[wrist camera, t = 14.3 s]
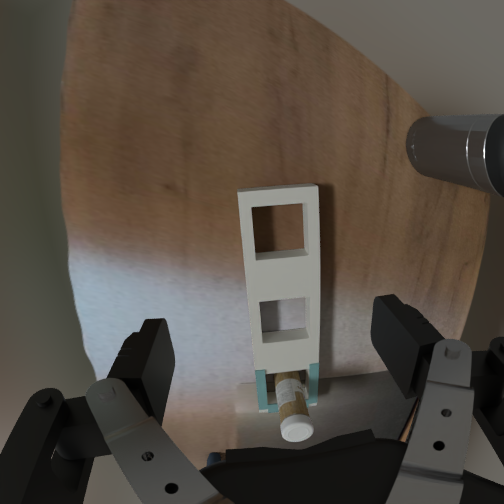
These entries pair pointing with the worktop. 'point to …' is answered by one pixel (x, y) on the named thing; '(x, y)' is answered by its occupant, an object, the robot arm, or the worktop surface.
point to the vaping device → (213, 458)
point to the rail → (283, 290)
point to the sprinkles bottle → (292, 407)
